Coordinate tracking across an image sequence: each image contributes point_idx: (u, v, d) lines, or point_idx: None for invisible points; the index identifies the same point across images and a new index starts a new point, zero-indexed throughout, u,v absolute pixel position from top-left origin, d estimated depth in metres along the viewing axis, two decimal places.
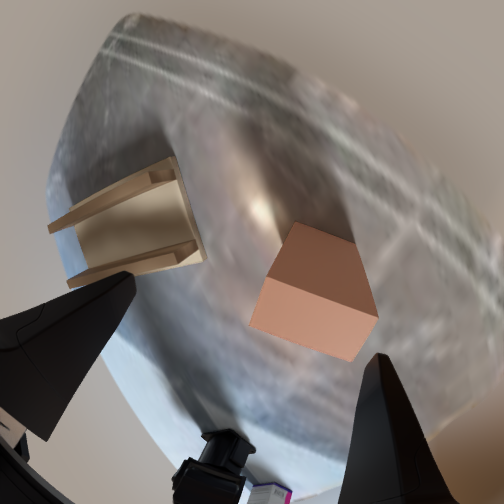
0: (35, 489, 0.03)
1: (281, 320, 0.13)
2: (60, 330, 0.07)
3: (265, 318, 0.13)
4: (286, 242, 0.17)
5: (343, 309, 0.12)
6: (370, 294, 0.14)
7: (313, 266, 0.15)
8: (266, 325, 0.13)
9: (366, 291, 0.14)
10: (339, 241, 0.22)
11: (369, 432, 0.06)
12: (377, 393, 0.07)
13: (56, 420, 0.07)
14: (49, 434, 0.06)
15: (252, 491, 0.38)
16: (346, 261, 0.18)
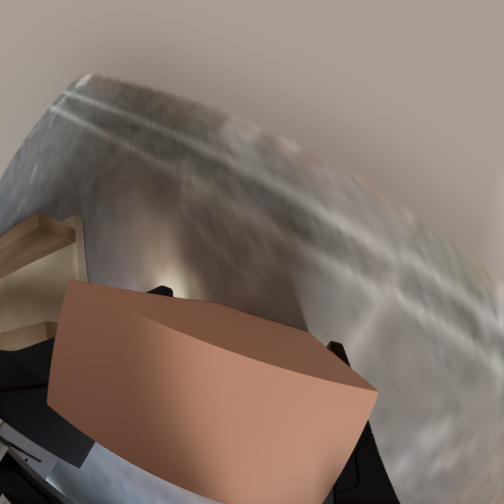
0: (35, 489, 0.03)
1: (100, 402, 0.04)
2: None
3: (70, 391, 0.04)
4: (178, 298, 0.10)
5: (261, 376, 0.04)
6: (342, 362, 0.06)
7: (210, 318, 0.07)
8: (73, 409, 0.04)
9: (331, 359, 0.06)
10: (282, 325, 0.14)
11: None
12: None
13: (89, 445, 0.07)
14: (82, 460, 0.06)
15: None
16: (289, 334, 0.10)
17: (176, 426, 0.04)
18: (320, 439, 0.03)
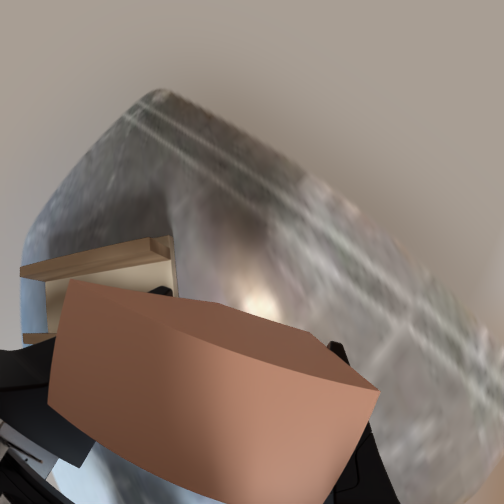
0: (35, 489, 0.03)
1: (101, 402, 0.04)
2: None
3: (71, 391, 0.04)
4: (179, 298, 0.10)
5: (262, 375, 0.04)
6: (343, 362, 0.06)
7: (211, 317, 0.07)
8: (74, 409, 0.04)
9: (332, 359, 0.06)
10: (283, 325, 0.14)
11: None
12: None
13: (89, 445, 0.07)
14: (82, 460, 0.06)
15: None
16: (289, 334, 0.10)
17: (177, 426, 0.04)
18: (321, 439, 0.03)
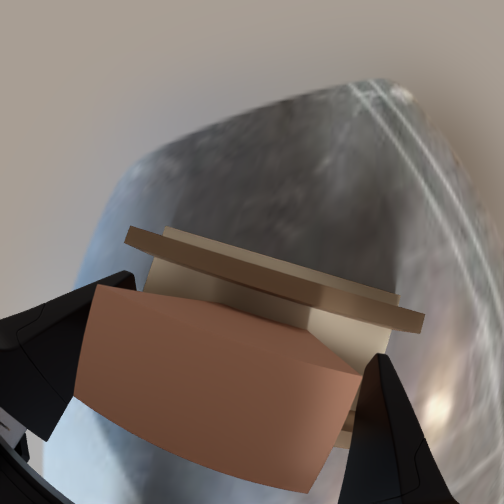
0: (35, 489, 0.03)
1: (126, 390, 0.05)
2: (60, 330, 0.07)
3: (98, 382, 0.05)
4: (187, 299, 0.11)
5: (265, 362, 0.05)
6: (335, 354, 0.07)
7: (218, 316, 0.08)
8: (100, 398, 0.05)
9: (325, 352, 0.07)
10: (282, 323, 0.15)
11: (369, 432, 0.06)
12: (377, 393, 0.07)
13: (56, 420, 0.07)
14: (49, 434, 0.06)
15: None
16: (288, 331, 0.11)
17: (194, 407, 0.05)
18: (314, 416, 0.04)
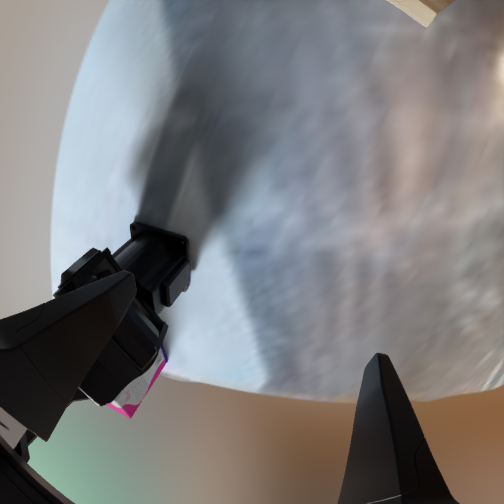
0: (35, 489, 0.03)
1: None
2: (60, 330, 0.07)
3: None
4: None
5: None
6: None
7: None
8: None
9: None
10: None
11: (369, 432, 0.06)
12: (377, 393, 0.07)
13: (56, 420, 0.07)
14: (49, 434, 0.06)
15: None
16: None
17: None
18: None
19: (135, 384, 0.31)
